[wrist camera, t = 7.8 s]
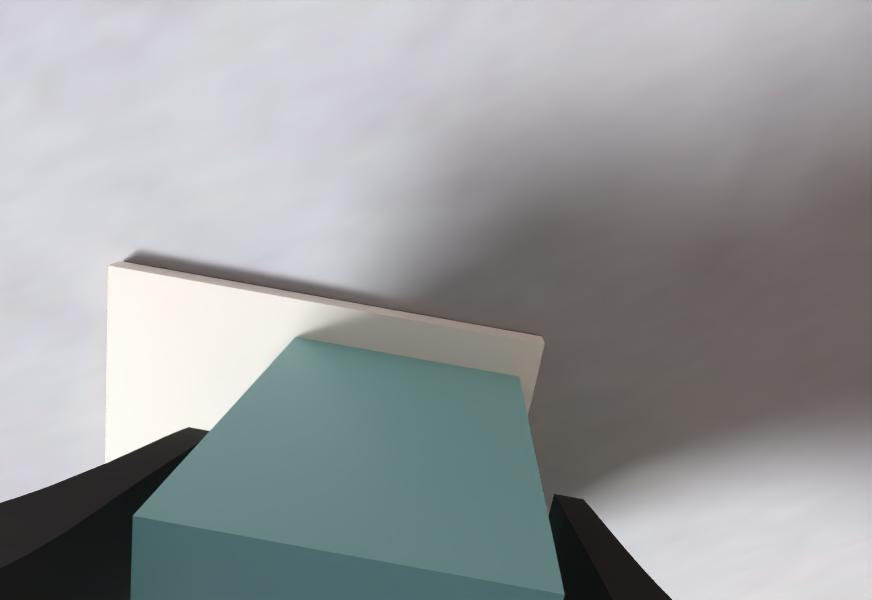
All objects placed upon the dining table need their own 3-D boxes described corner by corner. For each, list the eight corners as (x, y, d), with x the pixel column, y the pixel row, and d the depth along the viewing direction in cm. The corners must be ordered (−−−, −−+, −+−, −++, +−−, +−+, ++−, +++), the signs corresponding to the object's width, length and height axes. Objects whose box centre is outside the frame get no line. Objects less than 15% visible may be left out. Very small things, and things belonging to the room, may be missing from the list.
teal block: (274, 528, 15) (123, 825, 8) (295, 336, 13) (133, 516, 7) (477, 565, 15) (482, 893, 8) (519, 376, 13) (564, 594, 7)
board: (121, 261, 14) (108, 265, 13) (542, 336, 13) (545, 343, 13) (111, 688, 17) (101, 704, 16) (446, 751, 17) (445, 769, 16)
